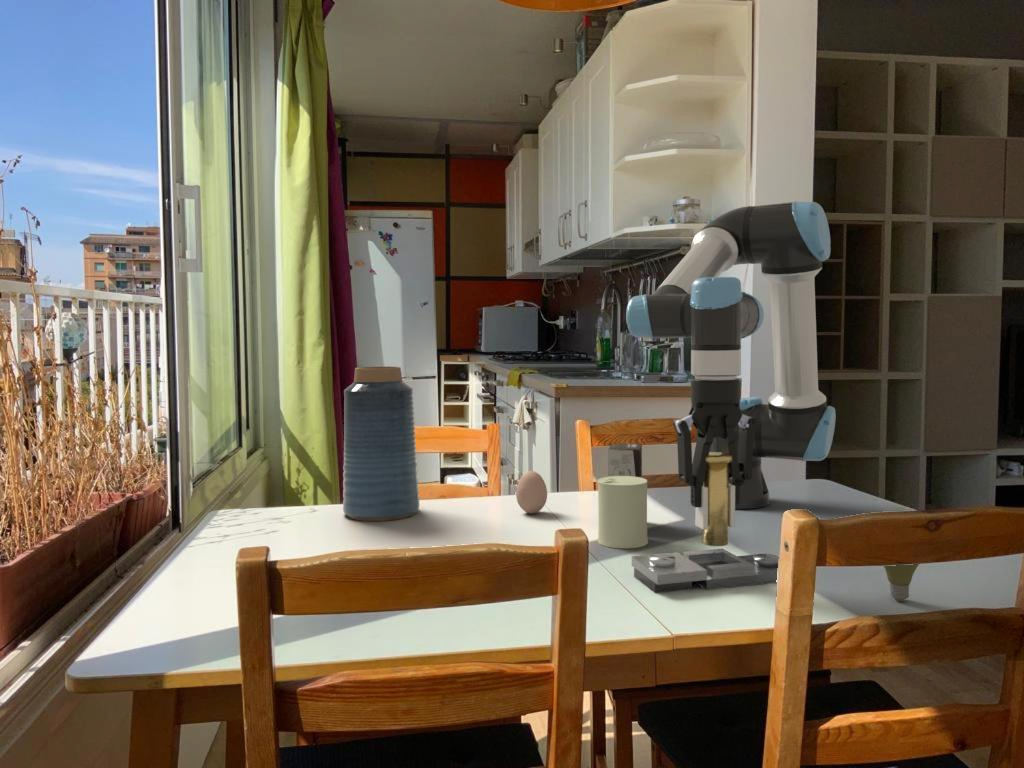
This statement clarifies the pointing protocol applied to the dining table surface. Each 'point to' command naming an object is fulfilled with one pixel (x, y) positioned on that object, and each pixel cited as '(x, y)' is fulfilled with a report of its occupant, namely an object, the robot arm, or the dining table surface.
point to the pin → (717, 498)
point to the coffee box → (625, 459)
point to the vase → (379, 446)
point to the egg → (531, 492)
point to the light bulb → (900, 580)
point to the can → (622, 512)
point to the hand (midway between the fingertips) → (715, 525)
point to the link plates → (704, 570)
